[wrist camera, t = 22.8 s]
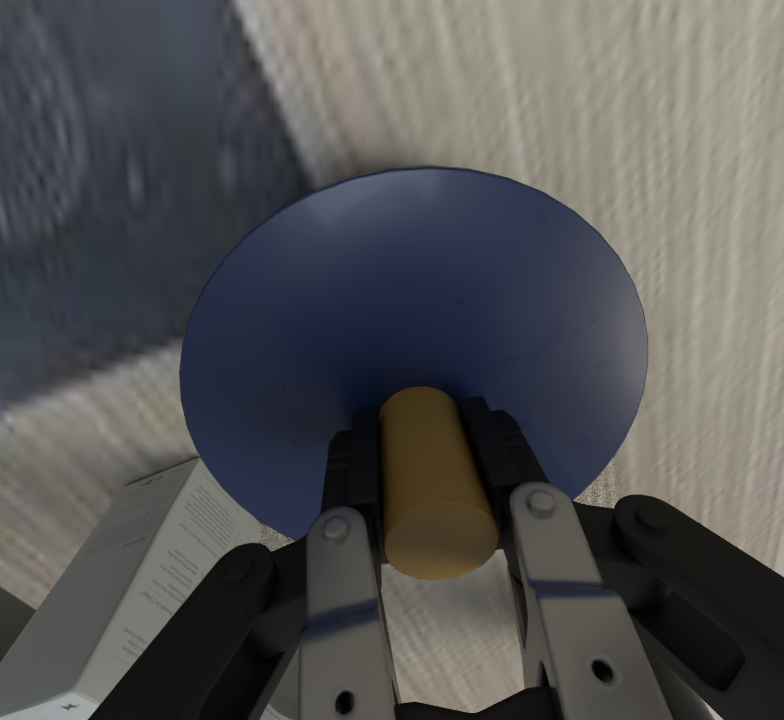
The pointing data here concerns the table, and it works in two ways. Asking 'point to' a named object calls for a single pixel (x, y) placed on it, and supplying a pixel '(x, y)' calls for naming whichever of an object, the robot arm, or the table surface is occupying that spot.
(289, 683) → the bent grey cylinder
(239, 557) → the robot arm
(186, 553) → the small box
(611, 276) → the lid
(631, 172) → the table surface
